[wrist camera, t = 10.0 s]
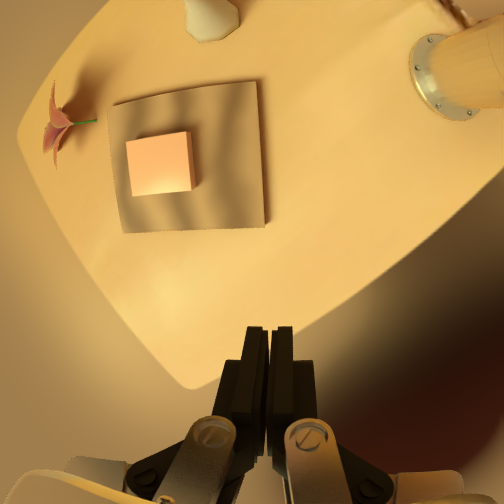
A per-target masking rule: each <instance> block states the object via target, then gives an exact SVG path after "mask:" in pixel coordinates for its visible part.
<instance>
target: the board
mask: <svg viewBox="0 0 504 504" xmlns="http://www.w3.org/2000/svg"><path fill="white" fill-rule="evenodd" d="M107 117H108V131H109V142H110V152H111V161H112V169H113V177H114V184H115V191H116V197H117V204H118V209H119V215H120V221H121V226H122V231H123V234H124V233H142V232H161V231H183V230H206V229H234V228H265V211H264V192H263V175H262V158H261V141H260V126H259V110H258V96H257V83H256V81H252V82H240V83H230V84H222V85H214V86H206V87H199V88H193V89H187V90H181V91H176V92H171V93H166V94H161V95H156V96H152V97H147V98H143V99H139V100H135V101H131V102H127V103H123V104H120V105H116V106H113V107H109V108H107ZM179 132H191V136H192V148H193V159H194V170H195V180H196V188H195V189H193V190H192V191H181V192H170V193H159V194H150V195H141V196H132V189H131V182H130V174H129V166H128V158H127V148H126V142H128V141H133V140H138V139H143V138H149V137H154V136H160V135H166V134H173V133H179Z"/></svg>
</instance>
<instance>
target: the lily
mask: <svg viewBox="0 0 504 504" xmlns="http://www.w3.org/2000/svg"><path fill="white" fill-rule="evenodd" d="M54 91H55V80H54V83H53V87H52V91H51V98H50V103H49V113H50V122H49V123H48V125H47V126H46V128H45V133H44V139H43V153H44V154H45V153H46V152H48V151H49V150H51V149H52V148H53V156H54V163H55V168H56V154H57V152H58V144H59V141H60V139H61V137H62V136H63V134H64V133H65V131H66V130H67V129H68V127H69V126H71V125H76V124H84V123H90V122H96V121H97V120H90V121H84V122H75V123H72V122H70V121H69V120H68V119H67V118H66V117H65V116H64V115H63V114H62V108H61V107H59V108H58V109H59V110H58V109H57V108H56V106H55V99H54ZM56 170H57V168H56Z"/></svg>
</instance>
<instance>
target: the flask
mask: <svg viewBox="0 0 504 504" xmlns="http://www.w3.org/2000/svg"><path fill="white" fill-rule="evenodd" d="M182 1H184V4H185V6H186V32H188V33H189V34H190V35H191V36H192V37H193V38H194V39H195V40H197V41H198V42H199V43H202V42H208V41H215V40H222V39H223V38H224V37H226V36H227V35H228V34H230V33H231V32H232V31H234V30H235V29H236V28H238V27H239V13H238V8H237V7H235V6H234V5H233V4H232V3H230V2H229V1H228V0H182Z"/></svg>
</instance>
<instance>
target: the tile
mask: <svg viewBox="0 0 504 504" xmlns="http://www.w3.org/2000/svg"><path fill="white" fill-rule="evenodd" d="M126 148H127V158H128V166H129V174H130V182H131V189H132V196H141V195H150V194H159V193H170V192H181V191H192V190H193V189H195V188H196V180H195V170H194V159H193V148H192V136H191V132H179V133H173V134H166V135H160V136H154V137H149V138H143V139H138V140H133V141H128V142H126Z"/></svg>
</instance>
